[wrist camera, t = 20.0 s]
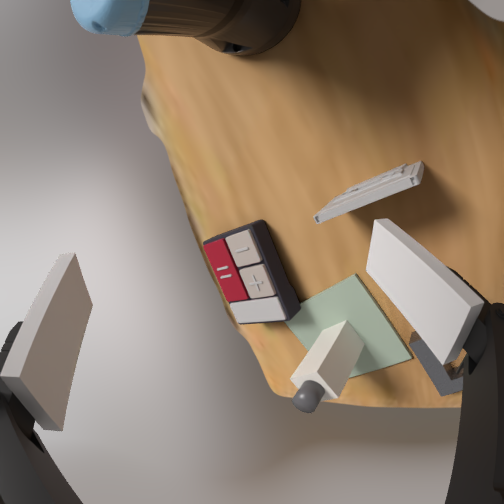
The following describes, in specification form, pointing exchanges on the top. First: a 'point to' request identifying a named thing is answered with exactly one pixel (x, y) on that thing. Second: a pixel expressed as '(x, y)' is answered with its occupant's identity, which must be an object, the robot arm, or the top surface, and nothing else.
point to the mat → (360, 318)
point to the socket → (436, 367)
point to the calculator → (252, 275)
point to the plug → (326, 366)
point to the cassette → (372, 190)
